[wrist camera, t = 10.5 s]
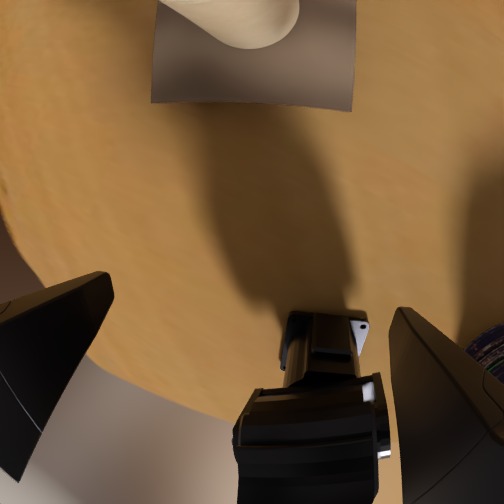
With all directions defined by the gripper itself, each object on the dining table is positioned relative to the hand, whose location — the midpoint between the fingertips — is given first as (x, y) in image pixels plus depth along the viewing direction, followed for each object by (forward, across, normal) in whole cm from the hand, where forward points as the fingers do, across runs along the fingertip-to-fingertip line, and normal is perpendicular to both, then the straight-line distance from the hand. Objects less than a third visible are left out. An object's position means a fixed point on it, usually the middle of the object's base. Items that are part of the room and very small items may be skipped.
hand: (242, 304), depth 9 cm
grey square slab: (+13, +2, -12) cm, 17 cm away
